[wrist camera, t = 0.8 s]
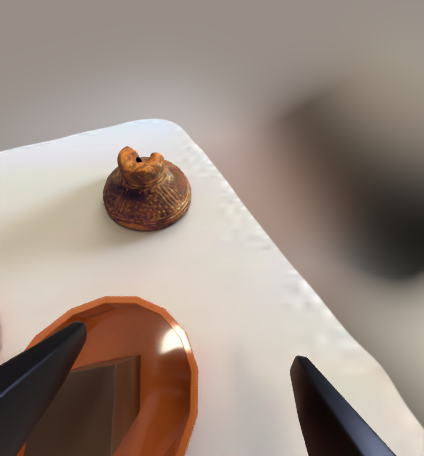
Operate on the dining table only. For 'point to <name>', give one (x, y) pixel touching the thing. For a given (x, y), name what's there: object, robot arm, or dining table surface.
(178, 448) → the pot
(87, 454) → the block
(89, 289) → the dining table surface
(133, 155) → the bell
